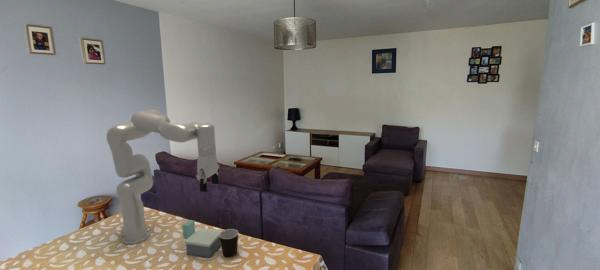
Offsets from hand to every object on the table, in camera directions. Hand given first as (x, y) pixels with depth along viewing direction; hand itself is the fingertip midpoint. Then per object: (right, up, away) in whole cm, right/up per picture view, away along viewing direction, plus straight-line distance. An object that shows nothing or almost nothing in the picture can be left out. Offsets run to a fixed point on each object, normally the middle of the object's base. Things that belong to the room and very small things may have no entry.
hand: (209, 187), depth 127 cm
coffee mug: (+9, -31, +4) cm, 33 cm away
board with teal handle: (-5, -25, +4) cm, 26 cm away
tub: (-4, -31, +5) cm, 31 cm away
